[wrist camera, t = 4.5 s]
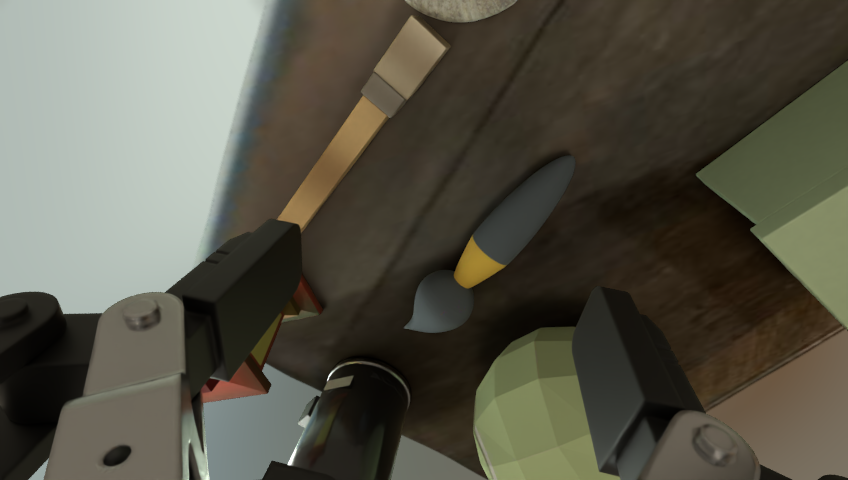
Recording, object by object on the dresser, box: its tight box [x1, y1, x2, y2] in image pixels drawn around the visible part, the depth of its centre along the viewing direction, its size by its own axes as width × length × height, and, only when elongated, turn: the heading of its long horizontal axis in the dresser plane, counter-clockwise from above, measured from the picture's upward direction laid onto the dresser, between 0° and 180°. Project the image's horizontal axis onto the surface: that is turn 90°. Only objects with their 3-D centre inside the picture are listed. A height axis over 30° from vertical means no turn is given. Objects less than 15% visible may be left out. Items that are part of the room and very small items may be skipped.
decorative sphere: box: [473, 327, 620, 480], centre depth 31 cm, size 15×15×15 cm
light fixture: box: [201, 275, 323, 403], centre depth 26 cm, size 8×8×30 cm
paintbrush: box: [404, 155, 575, 333], centre depth 31 cm, size 20×5×5 cm, turn 150°
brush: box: [277, 15, 451, 233], centre depth 29 cm, size 20×3×3 cm, turn 141°
